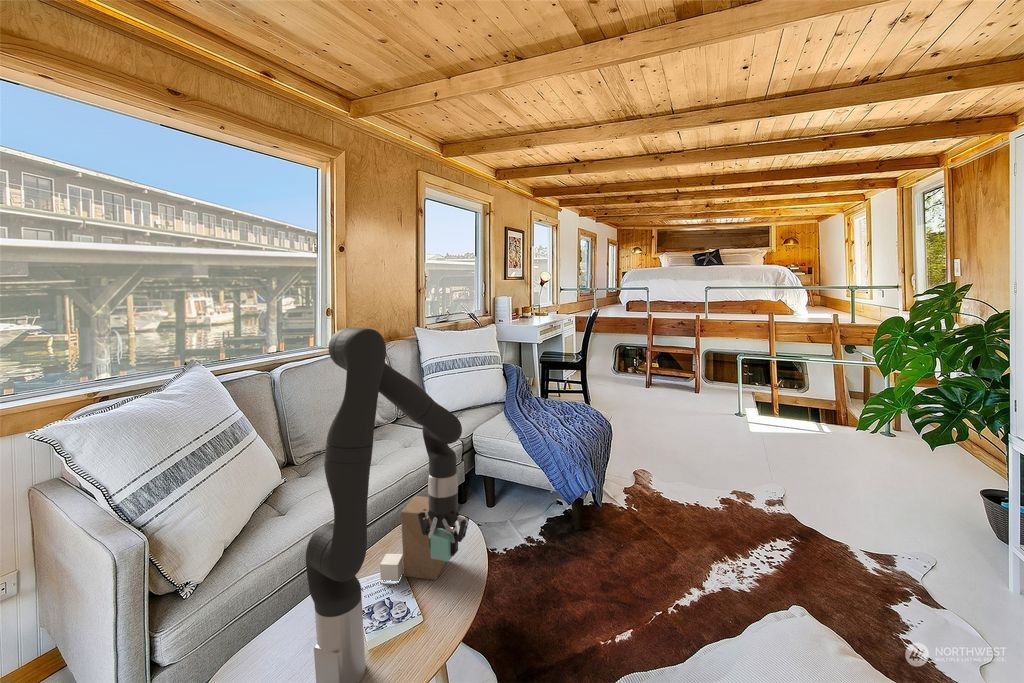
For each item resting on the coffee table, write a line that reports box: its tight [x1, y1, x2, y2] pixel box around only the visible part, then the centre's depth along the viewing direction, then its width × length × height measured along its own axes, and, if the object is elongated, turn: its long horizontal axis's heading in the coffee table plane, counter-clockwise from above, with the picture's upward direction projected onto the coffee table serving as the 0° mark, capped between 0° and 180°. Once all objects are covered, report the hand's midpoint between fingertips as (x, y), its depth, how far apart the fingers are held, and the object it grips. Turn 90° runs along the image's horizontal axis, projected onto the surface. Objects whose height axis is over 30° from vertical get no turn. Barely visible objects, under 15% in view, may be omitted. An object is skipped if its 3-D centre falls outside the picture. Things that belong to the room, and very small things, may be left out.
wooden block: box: [400, 495, 447, 581], centre depth 130 cm, size 10×10×20 cm
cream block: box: [379, 553, 404, 581], centre depth 126 cm, size 5×5×6 cm
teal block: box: [430, 528, 453, 563], centre depth 115 cm, size 5×5×6 cm
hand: (443, 552), depth 115 cm, fingers closed on teal block, 5 cm apart
